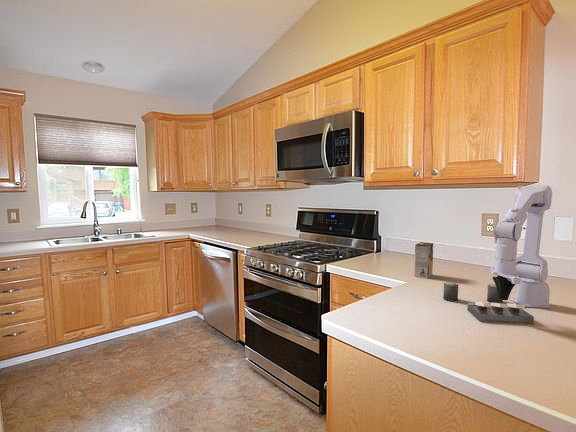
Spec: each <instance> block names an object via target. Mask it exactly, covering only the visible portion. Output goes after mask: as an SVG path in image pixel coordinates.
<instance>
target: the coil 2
mask: <svg viewBox="0 0 576 432" xmlns="http://www.w3.org/2000/svg"><path fill="white" fill-rule="evenodd" d="M503 301H504V300H500V299H499V297H498V292H497V288H496V285H495V283H489V284H487V293H486V302H487V303H502V304H503V303H504V302H503Z"/></svg>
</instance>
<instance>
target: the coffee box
mask: <svg viewBox="0 0 576 432" xmlns="http://www.w3.org/2000/svg"><path fill="white" fill-rule="evenodd" d="M434 244H435V243H434V242H424V241H420V242H418V243H416V244H415V245H414V246H415V248H414V277H415V278H421V279H429V278H430V277H431V276H432V275H433V269H434V268H433V267H434V266H433V263H434V262H433V260H434Z"/></svg>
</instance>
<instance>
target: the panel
mask: <svg viewBox="0 0 576 432" xmlns="http://www.w3.org/2000/svg"><path fill="white" fill-rule="evenodd" d="M523 309H524V308H513V307H508V308H504V307H496V306H491V307H483V306H479V305H476V303H470V302H468V303H467V309H466V310H467V311H468V313H469V314H471V315H472V317H474V318H475V319H476V320H477V321H478V322H481V323H497V324H498V323H499V324H500V323H501V324H502V323H503V324H519V325H520V324H522V325H534V322H535V317H534V316H533V314H531V313H528V312H527V311H525V310H523Z"/></svg>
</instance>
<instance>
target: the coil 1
mask: <svg viewBox="0 0 576 432" xmlns="http://www.w3.org/2000/svg"><path fill="white" fill-rule="evenodd" d="M442 296H443V297H442V298H443V301H447V302H451V303H455V302H458V301H459V284H458V283H456V282H451V281H446V282H443V295H442Z"/></svg>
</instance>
